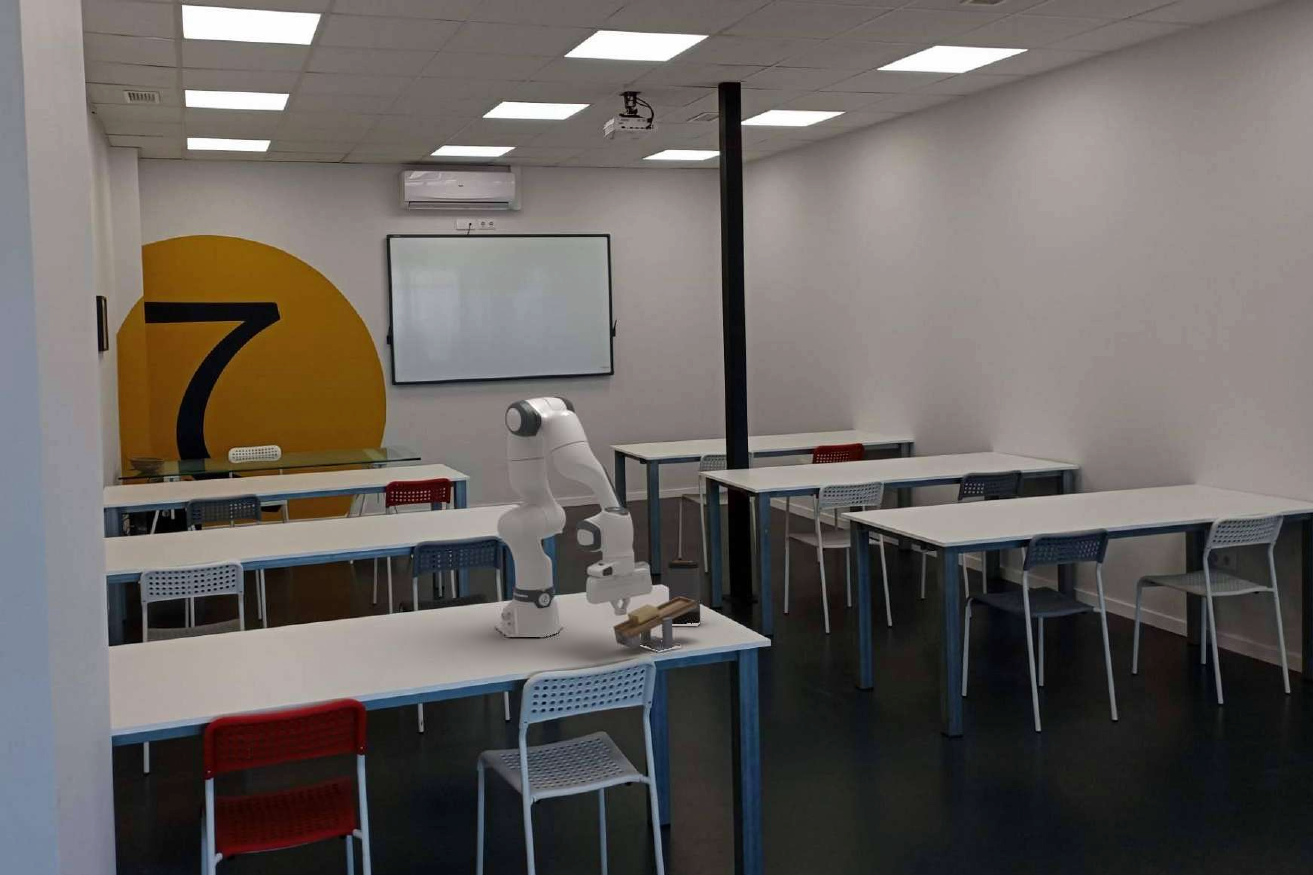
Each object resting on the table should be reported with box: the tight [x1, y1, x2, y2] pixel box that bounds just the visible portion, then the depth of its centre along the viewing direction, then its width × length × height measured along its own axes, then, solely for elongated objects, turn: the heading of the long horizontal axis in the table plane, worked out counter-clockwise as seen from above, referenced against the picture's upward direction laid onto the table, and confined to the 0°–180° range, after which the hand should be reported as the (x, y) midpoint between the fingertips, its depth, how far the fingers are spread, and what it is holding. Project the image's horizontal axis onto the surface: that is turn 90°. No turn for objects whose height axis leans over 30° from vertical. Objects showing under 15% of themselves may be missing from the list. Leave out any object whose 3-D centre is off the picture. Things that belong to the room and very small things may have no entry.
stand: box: [640, 617, 682, 651], centre depth 322 cm, size 13×8×9 cm, turn 36°
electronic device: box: [667, 558, 701, 624], centre depth 345 cm, size 9×6×20 cm, turn 84°
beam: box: [613, 596, 697, 650], centre depth 322 cm, size 8×24×5 cm, turn 126°
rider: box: [627, 604, 659, 627], centre depth 319 cm, size 5×7×4 cm
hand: (620, 614), depth 314 cm, fingers closed
